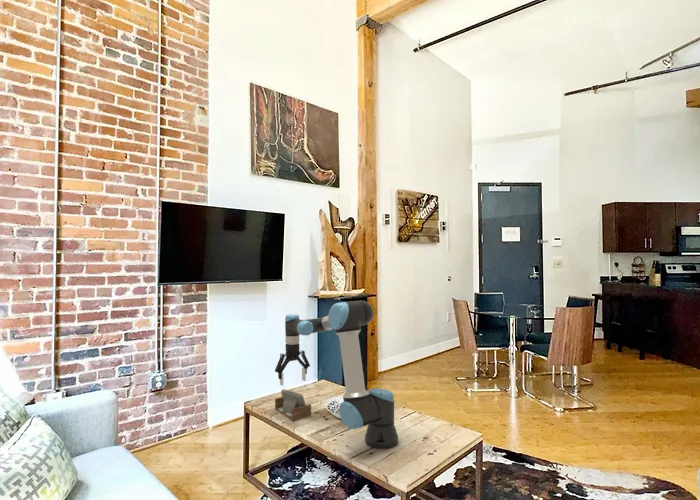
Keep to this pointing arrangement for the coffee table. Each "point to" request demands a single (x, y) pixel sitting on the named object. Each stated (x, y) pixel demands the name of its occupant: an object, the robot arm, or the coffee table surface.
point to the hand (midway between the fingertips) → (292, 382)
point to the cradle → (293, 410)
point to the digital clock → (291, 400)
